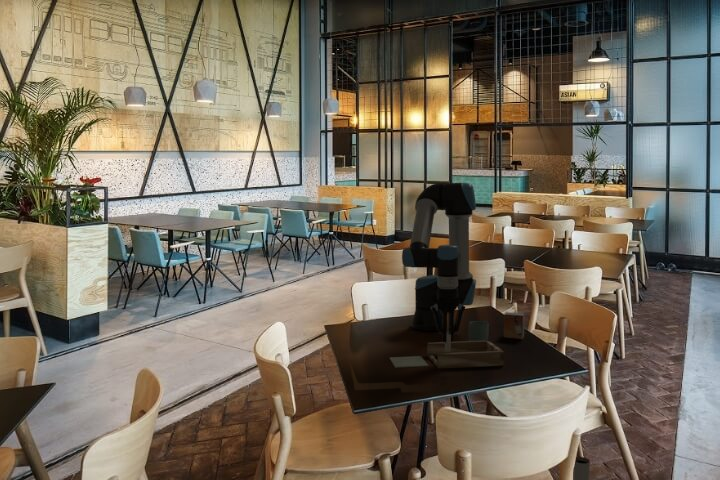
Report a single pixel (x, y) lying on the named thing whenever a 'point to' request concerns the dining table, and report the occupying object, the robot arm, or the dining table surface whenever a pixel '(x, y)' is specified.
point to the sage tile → (408, 361)
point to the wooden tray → (466, 354)
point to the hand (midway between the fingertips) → (447, 350)
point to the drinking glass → (581, 468)
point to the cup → (478, 330)
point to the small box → (514, 325)
